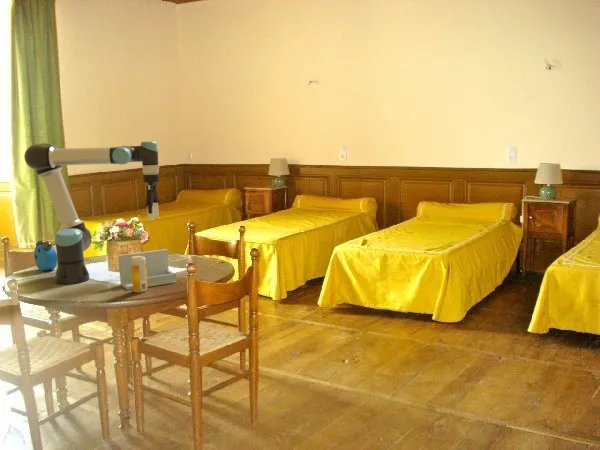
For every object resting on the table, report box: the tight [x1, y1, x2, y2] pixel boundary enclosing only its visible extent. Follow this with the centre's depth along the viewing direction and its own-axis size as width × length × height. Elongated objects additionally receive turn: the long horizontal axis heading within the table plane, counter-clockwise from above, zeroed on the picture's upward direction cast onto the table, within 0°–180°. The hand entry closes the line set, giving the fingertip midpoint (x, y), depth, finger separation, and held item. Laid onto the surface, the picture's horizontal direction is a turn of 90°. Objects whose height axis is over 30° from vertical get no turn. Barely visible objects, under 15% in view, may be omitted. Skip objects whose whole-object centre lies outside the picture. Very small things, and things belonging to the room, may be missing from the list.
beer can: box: [131, 256, 149, 294], centre depth 282 cm, size 6×6×15 cm
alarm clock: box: [33, 239, 58, 272], centre depth 331 cm, size 13×6×15 cm, turn 47°
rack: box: [118, 248, 177, 291], centre depth 295 cm, size 22×11×14 cm, turn 120°
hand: (153, 218), depth 319 cm, fingers open, 13 cm apart
